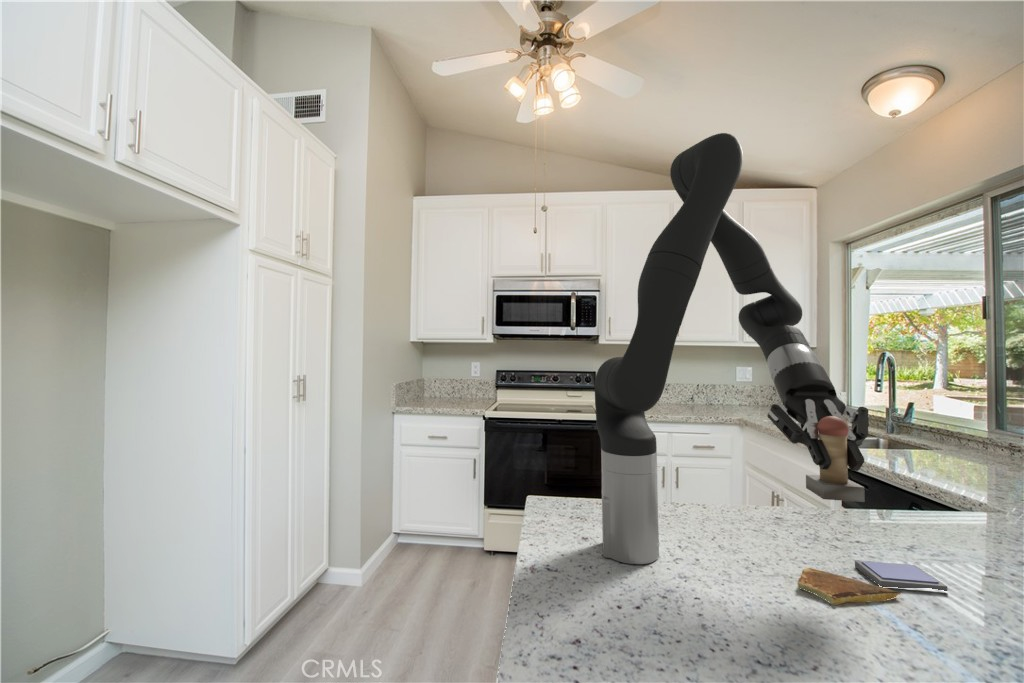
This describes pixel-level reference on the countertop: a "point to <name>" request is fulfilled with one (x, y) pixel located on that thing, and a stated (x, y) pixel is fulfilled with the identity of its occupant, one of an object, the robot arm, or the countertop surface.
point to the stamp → (835, 465)
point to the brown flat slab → (842, 588)
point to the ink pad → (898, 575)
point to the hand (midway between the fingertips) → (841, 466)
